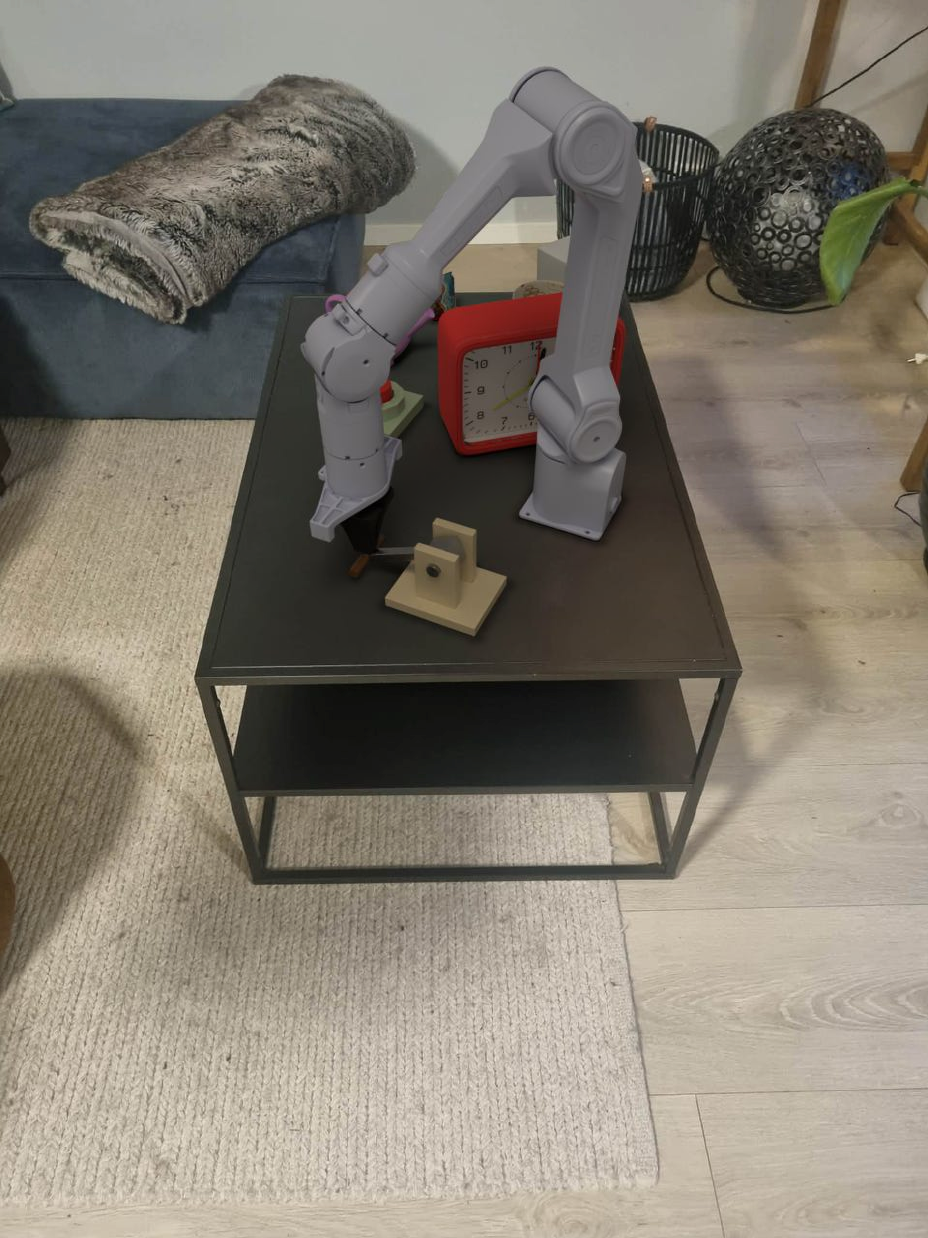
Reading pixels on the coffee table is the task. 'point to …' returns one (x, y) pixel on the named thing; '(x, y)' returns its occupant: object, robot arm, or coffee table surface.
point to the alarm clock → (498, 369)
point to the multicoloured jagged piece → (445, 296)
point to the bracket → (447, 583)
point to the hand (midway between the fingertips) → (364, 548)
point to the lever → (406, 552)
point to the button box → (400, 410)
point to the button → (386, 392)
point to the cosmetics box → (553, 260)
